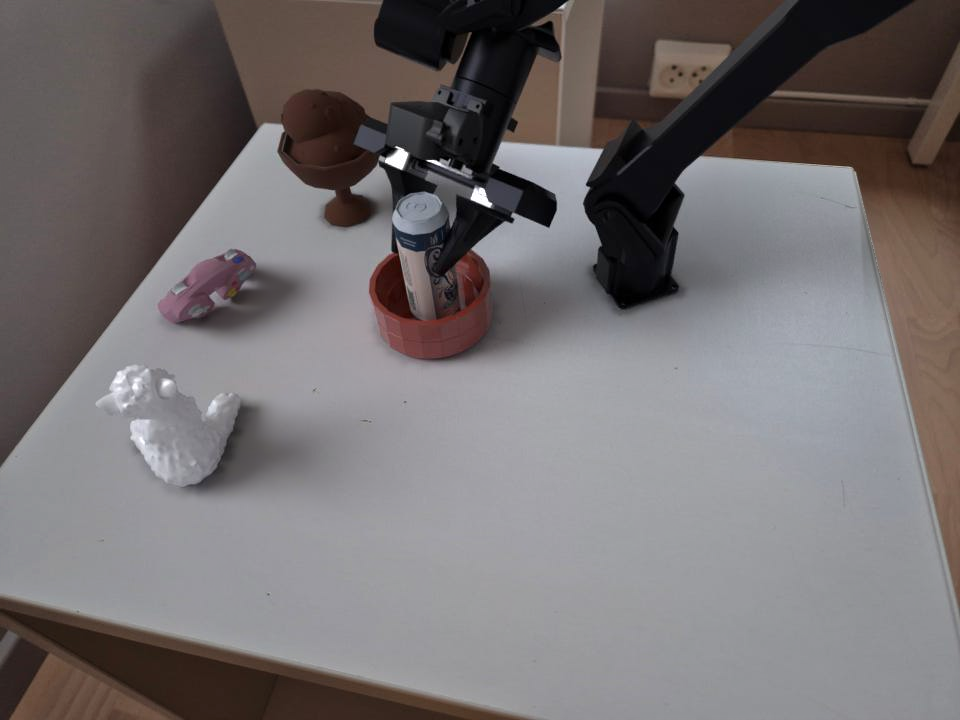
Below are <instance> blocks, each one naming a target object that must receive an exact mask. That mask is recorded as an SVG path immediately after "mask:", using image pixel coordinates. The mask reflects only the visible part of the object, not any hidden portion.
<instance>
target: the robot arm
mask: <svg viewBox="0 0 960 720" xmlns="http://www.w3.org/2000/svg"><path fill="white" fill-rule="evenodd" d="M569 1H570V0H382V1H381V5H380V8H379V12H378V15H377V18H375V20H374V23H373V39H374V44H375V46H376V47H378V48H379V49H381V50H384V51H386V52H388V53H391V54H394V55H395V56H398V57H401V58H403V59H405V60H408V61H410V62H413V63H415V64H417V65H420V66H422V67H424V68H427V69H429V70H432V71H435V72H441V71H442V70H443V69H444V68H445V66H446V65H447V64H450V65H455V64H456V63H458V61H459V59H460V61H459V64H458V67H457V68H456V71H455V74H454V76H453V78H452V81H451V83H450V86H448V85H445V84H440V86H439V87H438V88H437V89H436V91H435V93H434V95H433V98H432V100H431V101H423V100H414V101H413V100H412V101H409V100H408V101H392V102H390V104H389V111H388V119H387V123H386V122H383V121H381V120H379V119H376V118H375V117H374V118H373V117H371V118H369V119H368V120H366V121H365V122H363V123H362V124H361V125H360V126H359V129H358V131H357V134H356V137H355V140H354V142H353V144H354V145H356V146H359V147H361V148H363V149H366V150H368V151H370V152H373V153H375V154H377V155H380V157H382V158H384V161H382V160H381V159H379V161H378V167H379V168H381V169H383V170H384V172H385V174H386V176H387V180H388V181H389V183H390V186H391V196H392V197H391V199H392V212H391V213H392V214H391V217H393V213H394V211H395V209H396V206H397V204H398V202H399V200H400V199H402V198H404V197H405V196H407V195H409V194H411V193H419V192H427V193H430V194H434V195H435V193H436V191H437V189H438V186H439V185H438V184H436V183H433V182H432V181H429V180H427V178H428V174H429V172H430V173H433V174H435V175H437V176H440V177H443V178H444V179H447V180H449V181H451V182H453V183H456V184H459V185H461V186H463V187H466V188H468V189H471V190H472V192H471V195H470V197H469V198H468V197H465V196H463V195H461V194H458V193H456V195H455V216H454V219H453V221H452V223H451V225H450V228H451V229H450V231H449V234H448V236H447V238H446V241H445V243H444V245H443V248H442V250H441V253H440V255H439V258H438V261H437V264H436V268H435V274H437V275H440V276H443V275H445V274H446V273H447V272H448V271H449V270H450V269H451V268H452V267H453V266H454V265H455V264H456V263H457V262H458V261H459V260H460V259H461V258H462V257H463V256H464V255H465V254H466V253H467V252H469V251H470V250H473V248H474V247H475V246H476V245H477V244H479V242H481V241H482V240H483V239H485V237H487V236H488V235H489V234H490V233H492V232H493V231H494V230H496V229H497V228H498V227H500V226H501V225H502V224H504V222H506V223H509V224H512V225H513V224H514V222H515V220H516V218H515V217H512V215H513V214H514V215H518V216H520V217H522V218H524V219H527V220H529V221H531V222H533V223H536V224H538V225H541V226H543V227H546V228H548V229H550V227H551V225H552V224H553V223H552V222H553V220H554V218H555V216H556V213H557V212H558V199H557V197H556V196H557V195H556V193H554V192H552V191H550V190H548V189H547V188H545V187H543V186H541V185H539V184H537V183H536V182H533V181H531V180H529V179H526V178H524V177H521V176H519V175H517V174H514V173H511V172H509V171H506V170H504V169H501V168H500V167H501V166H499V165H497V164H495V163H494V161H495V159H496V157H497V154H498V151H499V149H500V146H501V144H502V141H503V139H504V136H505V135H506V132H510V133H515V132H516V128H517V126H518V124H519V121H518V120H516V119H515V118H514V117H513V114H514V112H515V110H516V107H517V105H518V102H519V100H520V98H521V95H522V93H523V92H524V91H523V90H524V89H525V86H526V83H527V81H528V78H529V77H530V73H531V70H532V68H533V66H534V63H535V61H536V59H537V56H539V57H541V58H544V59H546V60H549V61H552V62H553V63H559V62H561V61H562V59H563V57H562V51H561V46H560V44H559V42H558V40H557V38H556V33H555V32H556V30H555V25H554V22H553V21H552V20H547V21H546V22H544V23H542V24H539V25H533V24H535V23H537V22H539V21H541V20H542V19H544V18H545V17H548V16H549V15H551V14H552V13H554V12H556V11H557V10H558V9H559V8H561V7H562V6H564V5H565V4H567V3H568V2H569ZM917 1H918V0H784V1H783V2H782V3H781V4H780V5H779V6H778V7H777V8H776V9H775V10H774V11H773V12H772V13H771V14H769V16H768V17H767V18H766V19H764V21H762V23H761V24H759V25H758V26H757V28H756V29H754V30H753V31H752V32H751V33H750V34H749V35H748V36H747V37H746V38H745V39H744V40H743V41H742V42H741V43H739V45H738V46H737V47H736V48H735V49H734V50H733V51H732V52H731V53H730V54H729V55H728V56H727V57H726V58H725V59H723V60H722V61H721V63H719V64H718V65H717V66H716V67H715V68H714V69H713V70H712V71H711V72H710V73H709V74H708V75H707V76H706V77H705V78H704V79H703V80H702V81H701V82H700V83H699V84H698V85H697V86H696V87H695V88H694V89H692V91H691V92H690V93H689V94H688V95H686V96H685V98H683V100H681V101H680V102H679V104H677V105H676V106H675V107H674V108H673V109H672V110H671V111H670V112H669V113H668V114H667V115H666V116H665V117H664V118H663V119H662V120H661V121H660V122H658V123H656V124H653V125H651V126H648V127H645V128H643V127H642V126H641V125H640V124H639V123H638V122H637V120H636V119H635V118H631V119H630V121H629V122H628V124H627V125H626V127H625V128H624V129H623V130H622V132H621V133H620V135H619V136H617V137H616V138H614V139H612V140H610V141H607V142H606V143H605V145H604V147H603V149H602V151H601V153H600V155H599V156H598V158H597V161H596V163H595V165H594V167H593V169H592V171H591V173H590V174H589V177H588V179H587V181H586V183H585V186H586V187H587V188H588V190H587V192H586V195H585V196H584V199H583V202H582V205H583V208H584V214H585V216H586V217H587V219H588V221H589V222H590V223H591V224H592V225H593V226H594V228H595V231H596V233H597V236H598V239H599V242H600V244H601V245H600V246H599V247H598V248H597V259H596V263H594V264H593V265H592V272H593V273H594V275H595V279H596V280H597V282H598V283H599V285H600V286H601V287H602V289H603V290H604V292H605V293H606V294H607V295H609V296H610V298H611V299H612V300H613V302H614V303H615V305H616V306H617V307H618V308H619V309H621V310H626V309H629V308H632V307H635V306H639V305H642V304H645V303H648V302H652V301H654V300H657V299H660V298H664V297H667V296H670V295H673V294H676V293H678V292H679V290H680V285H679V283H678V282H677V280H675V279H674V278H673V276H672V275H673V268H674V263H675V258H676V252H677V246H678V241H679V234H680V232H679V231H678V230H677V229H676V227H675V224H676V221H677V218H678V215H679V212H680V210H681V207H682V204H683V202H684V199H685V193H684V191H682V189H681V188H680V187H679V186H678V185H677V183H676V182H677V181H678V179H679V177H680V176H681V175H682V174H683V172H684V171H685V170H686V169H687V168H688V167H690V166H691V165H692V164H693V163H694V162H695V161H696V160H698V159H699V158H700V157H701V156H702V155H704V154H705V153H706V152H707V151H708V150H710V148H711V147H713V146H714V145H715V144H716V143H718V142H719V141H720V140H721V139H722V138H723V137H724V136H726V134H727V133H729V132H730V131H731V130H732V129H733V128H735V127H736V126H737V125H738V124H739V123H740V122H742V121H743V120H744V119H745V118H746V117H748V115H750V114H751V113H752V112H753V111H754V110H755V109H757V108H758V107H759V106H760V105H761V104H762V103H763V102H765V101H766V100H767V99H768V98H769V97H770V96H772V95H773V94H774V93H775V92H777V90H778V89H779V88H781V87H782V86H783V85H784V84H786V83H787V82H788V81H789V80H790V79H791V78H793V77H794V76H795V75H796V74H797V73H798V72H800V70H801V69H803V68H804V67H805V66H806V65H808V63H810V62H811V61H812V60H813V59H814V58H815V57H816V56H818V55H819V54H820V53H821V52H823V51H824V50H827V49H828V48H830V47H832V46H835V45H838V44H840V43H843V42H846V41H849V40H851V39H854V38H857V37H859V36H862V35H864V34H866V33H868V32H870V31H871V30H873V29H875V28H877V27H878V26H879V25H881V24H883V23H885V22H886V21H887V20H889V19H891V18H892V17H894V16H895V15H897V14H899V13H900V12H902V11H903V10H905V9H907V8H909V7H910V6H912V5H913V4H914V3H915V2H917ZM469 34H470V36H469ZM467 40H468V41H467ZM441 160H443V161H445V162H449V163H448V164H446V163H443V162H442V161H441ZM440 161H441V162H440ZM463 168H466V169H468V170H470V171H471V173H468V172H465V171H462V170H463ZM390 242H391V243H390V246H391V247H390V250H391V253H395V254H399V251H398V246H397V241H396V236H395V231H394V226H393V221H392V220H391V241H390Z"/></svg>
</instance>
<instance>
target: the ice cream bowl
mask: <svg viewBox="0 0 960 720" xmlns="http://www.w3.org/2000/svg"><path fill="white" fill-rule="evenodd" d="M369 118H372V117H371V116H370V115H368V114H367V113H366V110H365V108H364V106H362V105H361V104H360V103H359V102H358V101H355V100H354V99H353V98H351V97H349V96H348V95H346V94H345V93H342V92H341V91H335V90H332V91H331V90H322V89H319V88H314V89H307V88H305V89H302V90H299V91H298V92H295V93H293V94H291V96H289V98H288V99H287V100H286V101H285V103H284V104H283V106H282V113H281V115H280V123H281V125H282V128H283V131H282V132H281V134H280V139H279V143H278V147H277V151H276V152H277V154H278V156H279V157H280V160H281V161H282V163H283V165H284V166H286V168H288V170H289V171H291V172H292V174H294V176H296V177H297V178H298V179H299V180H300V181H301V182H302V183H304V185H307V186H309V187H312V188H314V189H320V190H329V191H334V193H335V196H334V197H333V198H332V199H331V200H329V201H328V202H327V203H326V204H325V206H324V207H325V208H324V214H323V219H325V220H326V221H327V222H328V223H329V224H330V225H331V226H336V227H341V228H348V227H351V226H355V225H359V224H362V223H363V222H364V221H366V219H367V218H369V217H370V216H371V215H372V207H373V206H372V203H371V201H369V200H368V199H367V198H366V197H365V196H364V195H362V194H357V193H353V192H352V190H351V187H354V186H356V185H358V184H359V183H360V182H361V181H362V180H364V179H366V177H367V176H369V175H370V174H371V172H372V171H373V170H374V169H375V168H376V167H377V166H378V165H379V163H378V161H379V160H380V157H381V156H380V155H377V154H375V153H373V152H370V151H368V150H366V149H363V148H361V147H359V146H356V145H354V144H353V142H354V140H355V137H356V134H357V131H358V129H359V126H360V125H361V124H362V123H363V122H365V121H366V120H368V119H369Z"/></svg>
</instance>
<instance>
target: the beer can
mask: <svg viewBox="0 0 960 720" xmlns="http://www.w3.org/2000/svg"><path fill="white" fill-rule="evenodd" d="M392 213H393V212H392ZM391 217H392V216H391ZM392 221H393V226H394V231H395V236H396V241H397V246H398V251H399V256H400V261H401V266H402V271H403V276H404V281H405V286H406V291H407V296H408V300H409V305H410V310H411V312H412V313H413V315H415V316H416V317H417V318H419V319H421V320H424V321H425V320H438V319H442V318H445V317H448V316H451V315H453V314H454V313H455V312H456V311H457V309H458V307H459V303H460V298H459V290H458V282H457V275H456V267H455V265H454V266H453V267H452V268H451V269H450V270H449V271H448V272H447V273H446V274H445V275H443V276H440V275H437V274H435V268H436V264H437V261H438V258H439V255H440V253H441V250H442V248H443V245H444V243H445V241H446V238H447V236H448V234H449V231H450V229H451V221H450V213H449V209H448V208H447V206H446V204H445V203H443V201H442V200H441V199H440V198H439V197H438V195H436V194H435V193H434V194H430V193H427V192H419V193H411V194H409V195H407V196H405V197H404V198H402V199H400V200H399V202H398V204H397V206H396V209H395V211H394V213H393V217H392V219H391V222H392Z"/></svg>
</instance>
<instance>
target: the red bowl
mask: <svg viewBox="0 0 960 720" xmlns="http://www.w3.org/2000/svg"><path fill="white" fill-rule="evenodd" d="M455 267H456V275H457V282H458V290H459V298H460V303H459V307H458V309H457V311H456V312H455V313H454V314H453V315H451V316H448V317H445V318H442V319H438V320H425V321H424V320H421V319H419V318H417V317H416V316H415V315H413V313H412V312H411V310H410V305H409V300H408V296H407V291H406V286H405V281H404V276H403V271H402V266H401V261H400V256H399V254H395V253H393V252H391V253H390V254H388V255H387V256H386V257H385V258H383V260H381V261H380V262H379V263H378V264H377V265H376V266H375V269H374V270H373V272H372V274H371V276H370V277H369V282H368V283H369V284H368V296H369V299H370V304H371V307H372V312H373V315H374V320H375V324H376V327H377V330H378V332H379V335H380V337H381V339H382V340H383V341H384V342H385V343H386V344H387V345H388V346H389V347H390V348H391V349H393V350H395V351H397V352H399V353H400V354H403V355H404V356H407V357H412V358H418V359H423V360H427V359H442V358H447V357H451V356H453V355H457V354H460V353H462V352H464V351H465V350H467V349H469V348H471V347H472V346H474V345H475V344H477V343H479V341H480V340H481V339H482V337H483V336H484V335H485V334H486V333H487V332H488V330H489V328H490V325H491V323H492V320H493V317H494V316H493V301H492V286H491V285H492V283H491V272H490V268H489V267H488V265H487V263H486V262H485V259H484V258H482V257H481V256H480V255H479V254H478V253H476V252H475V251H474V250H473V249H471V250H470V251H469V252H467V253H466V254H465V255H464V256H463V257H462V258H461V259H460V260H459V261H458V262H457V263H456V264H455Z"/></svg>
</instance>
